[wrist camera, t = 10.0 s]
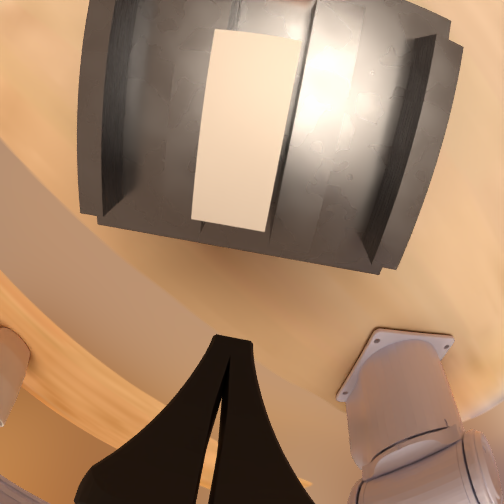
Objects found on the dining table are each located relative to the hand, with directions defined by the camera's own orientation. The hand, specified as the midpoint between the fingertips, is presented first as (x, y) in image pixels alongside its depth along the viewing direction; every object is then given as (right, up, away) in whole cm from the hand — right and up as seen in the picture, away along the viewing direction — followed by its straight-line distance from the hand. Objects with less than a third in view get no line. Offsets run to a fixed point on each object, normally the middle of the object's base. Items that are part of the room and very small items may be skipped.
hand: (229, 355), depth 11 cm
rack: (+1, +11, +4) cm, 12 cm away
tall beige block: (+1, +11, +3) cm, 11 cm away
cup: (-28, -7, +18) cm, 34 cm away
